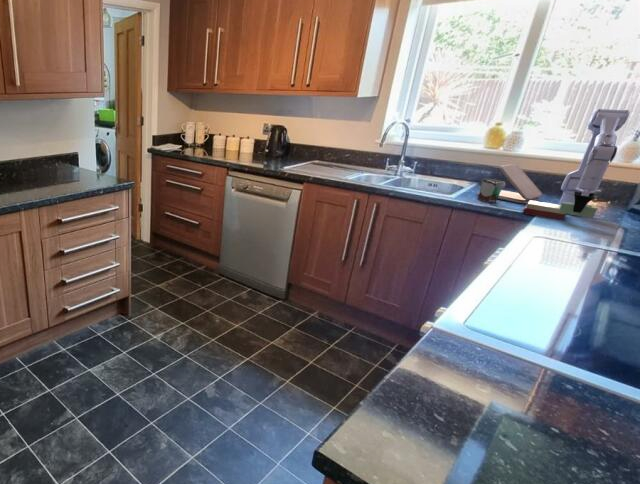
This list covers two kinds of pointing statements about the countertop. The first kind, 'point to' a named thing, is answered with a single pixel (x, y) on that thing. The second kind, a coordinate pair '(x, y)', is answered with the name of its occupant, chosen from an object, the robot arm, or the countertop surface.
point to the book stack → (544, 210)
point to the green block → (586, 212)
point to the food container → (490, 190)
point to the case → (518, 186)
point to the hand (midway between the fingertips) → (576, 210)
